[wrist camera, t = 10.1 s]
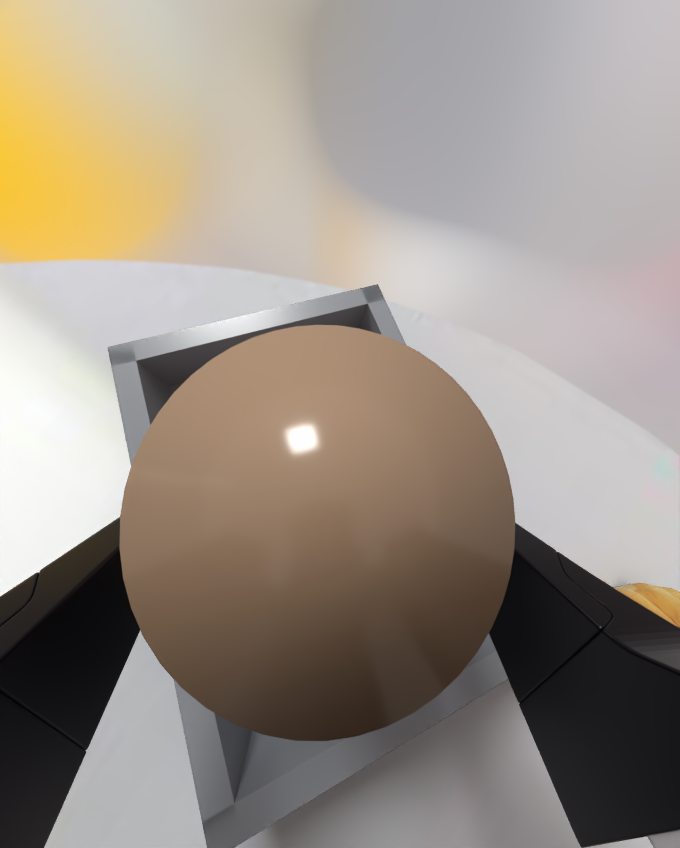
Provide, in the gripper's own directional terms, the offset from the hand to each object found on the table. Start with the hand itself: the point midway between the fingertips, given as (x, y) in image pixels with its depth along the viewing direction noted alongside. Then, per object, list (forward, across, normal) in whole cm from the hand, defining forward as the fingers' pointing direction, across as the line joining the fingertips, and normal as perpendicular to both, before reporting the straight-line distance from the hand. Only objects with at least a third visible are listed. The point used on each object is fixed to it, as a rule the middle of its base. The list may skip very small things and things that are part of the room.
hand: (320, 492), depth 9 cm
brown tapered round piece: (+6, 0, +6) cm, 8 cm away
